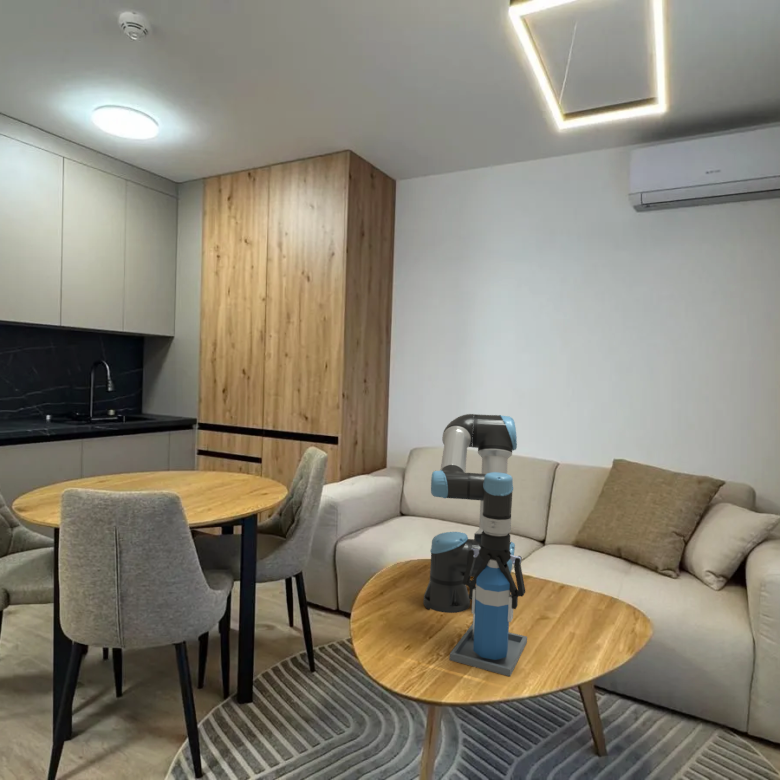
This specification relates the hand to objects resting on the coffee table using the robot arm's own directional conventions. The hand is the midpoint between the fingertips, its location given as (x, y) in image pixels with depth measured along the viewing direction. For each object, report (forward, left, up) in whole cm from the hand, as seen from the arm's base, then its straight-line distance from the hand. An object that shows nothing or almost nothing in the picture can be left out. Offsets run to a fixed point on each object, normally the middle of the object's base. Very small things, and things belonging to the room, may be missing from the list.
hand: (492, 615), depth 148 cm
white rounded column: (-5, +8, -11) cm, 15 cm away
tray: (-1, +3, -12) cm, 12 cm away
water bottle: (0, 0, -10) cm, 10 cm away
